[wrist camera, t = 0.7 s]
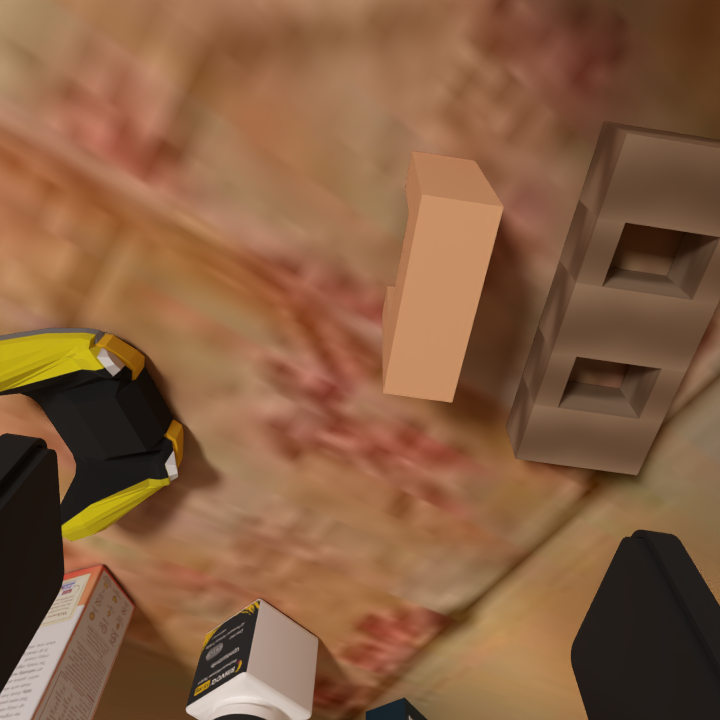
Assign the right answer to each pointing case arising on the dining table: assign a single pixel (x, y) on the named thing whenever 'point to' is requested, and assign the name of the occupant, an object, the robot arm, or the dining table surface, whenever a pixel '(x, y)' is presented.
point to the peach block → (438, 276)
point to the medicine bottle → (255, 668)
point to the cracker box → (70, 651)
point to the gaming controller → (96, 419)
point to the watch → (395, 712)
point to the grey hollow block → (623, 304)
